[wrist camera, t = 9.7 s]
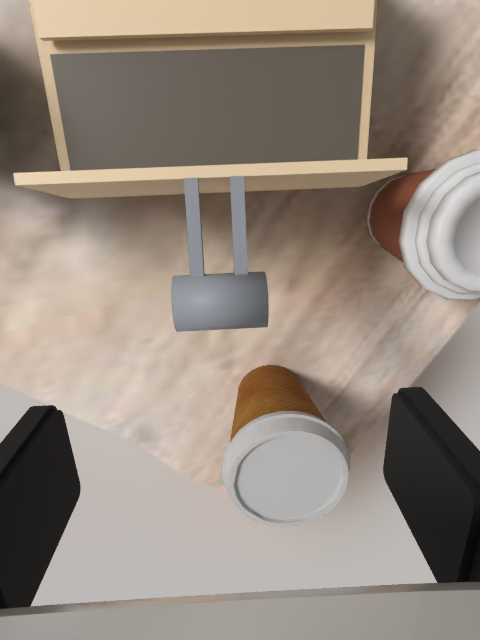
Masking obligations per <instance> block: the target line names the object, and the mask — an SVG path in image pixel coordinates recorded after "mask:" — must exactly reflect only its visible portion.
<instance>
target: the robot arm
mask: <svg viewBox="0 0 480 640" xmlns="http://www.w3.org/2000/svg"><path fill="white" fill-rule="evenodd" d="M383 473H384V477H385V480H386V483H387V485H388V487H389V489H390V491H391V493H392V495H393V497H394V498H395V501H396V502H397V504H398V506H399V508H400V510H401V512H402V514H403V516H404V518H405V520H406V522H407V524H408V526H409V528H410V529H411V532H412V534H413V536H414V538H415V540H416V542H417V544H418V546H419V547H420V549H421V551H422V553H423V555H424V557H425V559H426V561H427V563H428V565H429V567H430V569H431V570H432V573H433V575H434V577H435V579H436V581H437V583H425V584H398V585H379V586H360V587H342V588H323V589H303V590H286V591H268V592H250V593H235V594H216V595H199V596H183V597H166V598H151V599H135V600H121V601H120V600H119V601H104V602H88V603H73V604H58V605H45V606H33V607H30V606H31V603H32V601H33V599H34V597H35V595H36V592H37V590H38V588H39V585H40V583H41V581H42V579H43V577H44V574H45V572H46V570H47V568H48V566H49V563H50V561H51V559H52V557H53V554H54V552H55V550H56V548H57V546H58V543H59V541H60V539H61V537H62V534H63V532H64V530H65V528H66V525H67V523H68V521H69V519H70V516H71V514H72V512H73V510H74V507H75V505H76V503H77V501H78V498H79V495H80V481H79V477H78V473H77V469H76V464H75V460H74V456H73V452H72V448H71V444H70V440H69V435H68V431H67V427H66V423H65V419H64V415H63V412H62V411H61V410H57V408H56V407H55V406H53V405H49V406H33V407H30V408H29V410H28V411H27V412H26V413H25V414H24V415H23V417H22V418H21V419H20V420H19V421H18V423H17V424H16V425H15V426H14V428H13V429H12V430H11V431H10V432H9V434H8V435H7V436H6V437H5V438H4V440H3V441H2V442H1V443H0V640H480V451H479V450H478V449H477V448H476V446H475V445H474V444H473V443H472V442H471V441H470V440H469V439H468V438H467V436H466V435H465V434H464V433H463V432H462V431H461V430H460V429H459V427H458V426H457V425H456V424H455V423H454V422H453V421H452V420H451V418H449V416H448V415H447V414H446V413H445V412H444V411H443V410H442V408H441V407H440V406H439V405H438V404H437V403H436V402H435V401H434V400H433V399H432V398H431V396H430V395H429V394H428V393H427V392H426V391H425V390H424V389H423V388H422V387H410V388H400V389H399V391H398V393H395V394H393V396H392V401H391V410H390V418H389V426H388V434H387V442H386V450H385V458H384V466H383Z"/></svg>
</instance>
